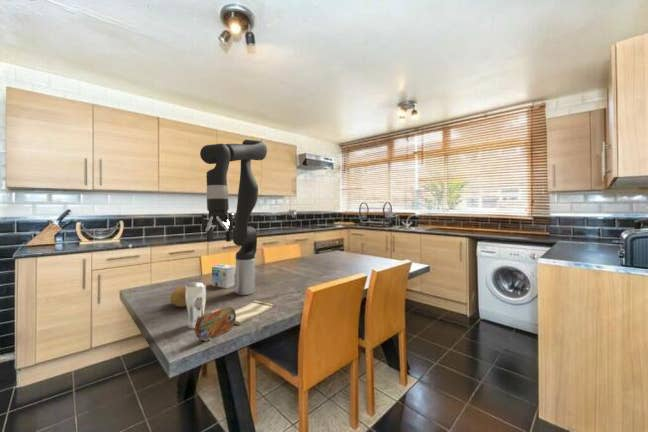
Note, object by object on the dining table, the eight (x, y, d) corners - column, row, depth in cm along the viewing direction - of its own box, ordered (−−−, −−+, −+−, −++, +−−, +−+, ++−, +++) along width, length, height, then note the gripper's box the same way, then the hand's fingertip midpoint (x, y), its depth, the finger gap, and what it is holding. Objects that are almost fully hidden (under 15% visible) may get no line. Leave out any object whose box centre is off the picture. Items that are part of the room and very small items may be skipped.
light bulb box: (211, 285, 149) (211, 266, 148) (220, 282, 155) (220, 263, 155) (226, 288, 145) (226, 268, 144) (235, 285, 151) (235, 265, 150)
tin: (199, 345, 86) (199, 319, 86) (193, 343, 88) (192, 317, 87) (236, 327, 99) (236, 304, 99) (230, 325, 101) (230, 302, 100)
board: (219, 320, 105) (219, 316, 105) (254, 303, 123) (254, 300, 123) (239, 325, 101) (239, 321, 101) (272, 307, 119) (272, 304, 119)
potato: (193, 298, 128) (193, 281, 128) (197, 308, 116) (196, 289, 116) (169, 302, 123) (169, 284, 123) (170, 313, 111) (170, 293, 111)
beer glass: (190, 321, 104) (189, 281, 103) (209, 320, 104) (208, 281, 104) (182, 329, 97) (181, 287, 96) (202, 328, 97) (202, 287, 97)
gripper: (195, 198, 102) (197, 242, 102) (226, 196, 96) (228, 242, 97) (210, 199, 109) (211, 240, 109) (239, 197, 103) (241, 240, 104)
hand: (219, 241), depth 103 cm, fingers open, 8 cm apart
